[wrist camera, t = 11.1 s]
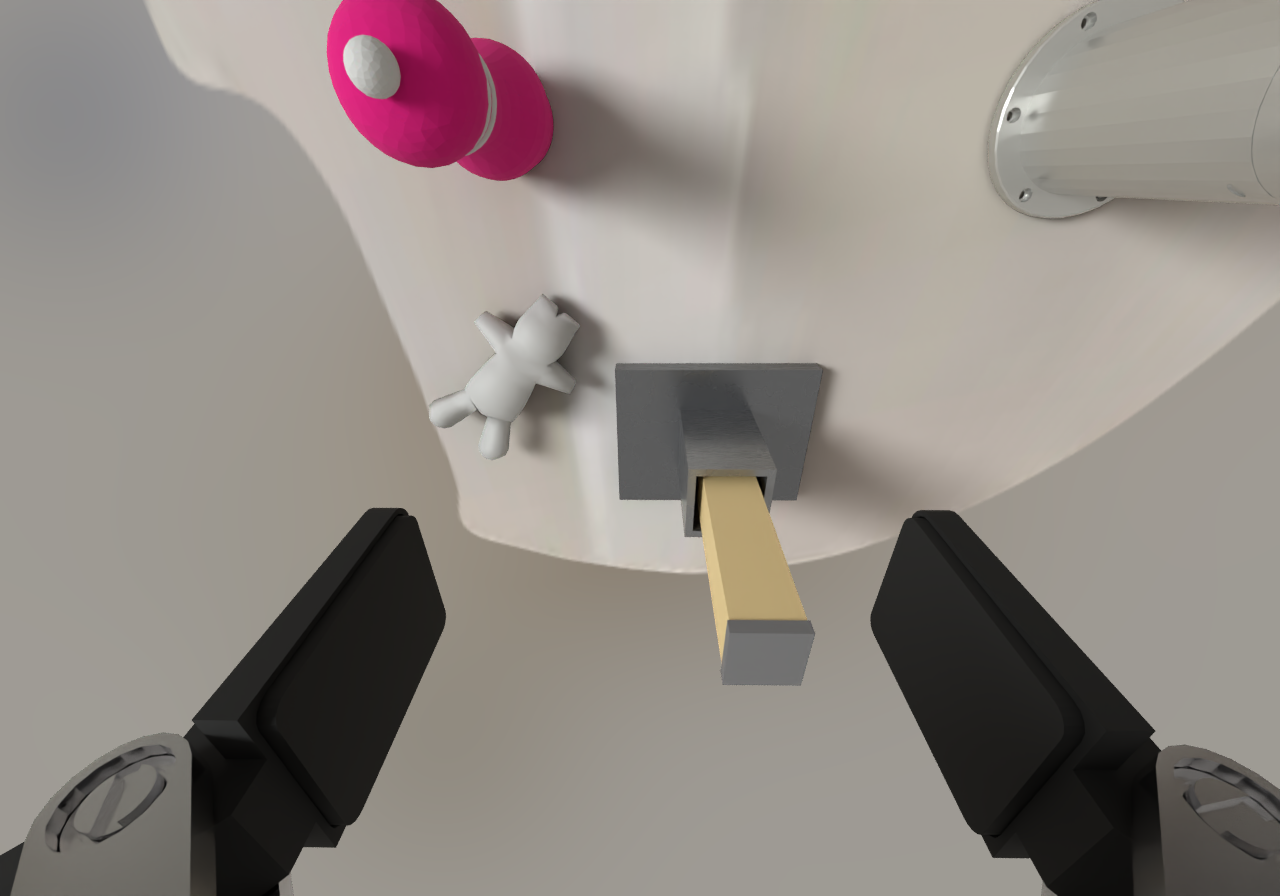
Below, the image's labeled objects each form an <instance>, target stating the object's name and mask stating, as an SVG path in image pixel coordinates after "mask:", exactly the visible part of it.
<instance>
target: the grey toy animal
mask: <svg viewBox="0 0 1280 896" xmlns="http://www.w3.org/2000/svg"><path fill="white" fill-rule="evenodd" d="M557 312H558V306H557V305H555V304H554V303H553V302H552V301H551V300H549V299H548V298H547V297H546V296H544V295H543V294H542V295H541V296H540V297H539V298H538V299H537V301H536V302H535V303H534V304H533V305H532V306H531V307H530V308H529V309H528V310H527V311H526V312H525V313H524V314H523V315H522V316H521V318H520V319H519V320H518V322H517V324H516V326H515V328H514V327H512V326H510V325H509V324H507V323H505V322H504V321H502V320H500V319H499V318H497V317H495V316H494V315H492V314H490V313H489V312H487V311H486V312H484V313H483V314H481V315H480V316H479V317H478V318H477V319H476V321H475V322H474V323H475V324H476V326H477V327H478V329H479V330H480V331H481V333H482V334H483V335H484V337H485V338H486V340H487V341H488V342H489V344H490V345H491V347H492V348H493V349H494V351H495V352H496V353H495V354H494V355H492V356H491V357H490V358H489V360H488V361H487V362H486V363H485V364H484V365H483V366H482V367H481V368H480V369H479V370H478V372H477V373H476V374H475V375H474V376H473V377H472V378H471V379H470V381H469V382H468V384H467V386H466V387H465V389H463V390H461V391H458V392H455V393H452V394H450V395H447V396H444V397H442V398H439V399H436V400H434V401H433V402H432V403H431V404H430V405H429V417H430V420H431V422H432V423H433V424H434V425H435V426H437V427H441V428H448V427H452V426H453V425H455V424H456V423H458V422H459V421H461V420H462V419H464V418H465V417H467V416H468V415H470V414H471V413H473V412H474V411H476V410H478V411H479V412H480V413H481V414H482V415H484V416H486V417H487V420H486V423H485V426H484V429H483V432H482V436H481V439H480V442H479V451H480V453H481V455H482V456H483V457H484V458H486V459H489V460H494V459H497V458H500V457H503V456H505V455H506V453H507V451H508V449H509V437H510V425H511V422H513V421H514V420H515V419H516V418H517V417H518V415H519V414H520V413H521V411H522V410H523V408H524V407H525V405H526V403H527V401H528V399H529V397H530V395H531V393H532V391H533V389H534V387H535V384H540V385H543V386H546V387H549V388H552V389H555V390H558V391H561V392H564V393H567V394H570V393H571V391H572V390H573V388H574V387H575V382H576V380H575V379H574V378H573V377H572V376H571V375H570V374H569V373H568V372H567V371H566V370H565V369H564V368H563V367H562V366H561V365H560V364H559V363H558V362H557V361H556V360H557V359H558V358H559V357H561V356H562V355H563V354H564V352H565V350H566V348H567V347H568V345H569V343H570V341H571V340H572V338H573V336H574V334H575V333H576V331H577V330H578V329H579V326H580V324H579V323H577V322H576V321H575V320H574V319H572V318H571V317H570V316H569V315H568V314H566V313H565V312H564V313H561V314H559V315H557Z"/></svg>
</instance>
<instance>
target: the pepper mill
mask: <svg viewBox="0 0 1280 896" xmlns="http://www.w3.org/2000/svg"><path fill="white" fill-rule="evenodd" d="M327 58H328V66H329V73H330V76H331V80H332V83H333V87H334V89H335V91H336V94H337V96H338V99H339V101H340V103H341V105H342V107H343V108H344V110H345V112H346V114H347V116H348V117H349V119H350V120H351V122H352V123H353V124H354V126H355V127H356V128H357V129H358V131H359V132H360V133H361V134H362V135H363V136H364V137H365V138H366V139H367V140H368V141H369V142H370V143H372V144H373V145H374V146H375V147H376V148H378V149H379V150H381V151H382V152H383V153H385V154H386V155H388V156H390V157H392V158H394V159H396V160H398V161H401V162H404V163H407V164H410V165H413V166H417V167H427V168H435V167H441V166H446V165H450V164H452V163H454V162H456V161H457V162H458V163H459V164H460V165H461V166H462V167H464V168H465V169H467V170H468V171H470V172H471V173H473V174H476V175H478V176H480V177H484V178H487V179H491V180H497V181H506V180H511V179H515V178H518V177H520V176H522V175H524V174H526V173H527V172H528V171H530V170H531V169H532V168H533V167H534V166H536V165H537V164H538V163H539V162H540V161H541V160H542V159H543V158H544V156H545V155H546V153H547V151H548V149H549V147H550V144H551V141H552V136H553V115H552V110H551V106H550V104H549V101H548V98H547V96H546V93H545V90H544V88H543V85H542V83H541V81H540V79H539V77H538V76H537V74H536V73H535V71H534V70H533V68H532V67H531V66H530V64H529V63H528V62H527V61H526V60H525V59H524V58H523V57H522V56H521V55H520V54H518V53H517V52H516V51H514V50H513V49H511V48H509V47H508V46H506V45H504V44H502V43H499V42H496V41H494V40H491V39H484V38H471V39H470V37H469V35H468V34H467V32H466V31H465V29H464V27H463V26H462V25H461V24H460V23H459V21H458V20H457V19H456V18H455V17H454V16H453V15H452V14H451V13H450V12H449V11H448V10H447V9H446V8H445V7H444V6H443V5H442V4H441V3H439V2H438V1H436V0H343V1H342V2H341V4H340V5H339V7H338V9H337V10H336V12H335V14H334V16H333V18H332V22H331V25H330V28H329V32H328V39H327Z"/></svg>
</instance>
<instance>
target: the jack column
mask: <svg viewBox="0 0 1280 896" xmlns="http://www.w3.org/2000/svg"><path fill="white" fill-rule="evenodd" d="M697 504H698V511H699V517H700V524H701V531H702V537H703V544H704V550H705V557H706V564H707V570H708V576H709V583H710V590H711V596H712V603H713V610H714V617H715V623H716V629H717V636H718V643H719V650H720V656H721V662H722V664H721V677H722V684H723V685H801V683H802V679H803V676H804V672H805V669H806V665H807V661H808V658H809V654H810V651H811V647H812V643H813V640H814V636H815V632H814V630H813V627H812V624H811V621H807V618H806V615H805V612H804V609H803V607H802V604H801V601H800V598H799V595H798V593H797V590H796V587H795V584H794V582H793V579H792V576H791V573H790V570H789V568H788V565H787V562H786V559H785V556H784V554H783V551H782V548H781V545H780V542H779V540H778V537H777V534H776V531H775V528H774V526H773V523H772V520H771V517H770V515H769V512H768V509H767V506H766V503H765V501H764V498H763V495H762V492H761V489H760V487H759V484H758V481H757V478H756V476H698V483H697Z"/></svg>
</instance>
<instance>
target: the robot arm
mask: <svg viewBox="0 0 1280 896" xmlns="http://www.w3.org/2000/svg"><path fill="white" fill-rule="evenodd" d="M1007 115H1008V118H1007ZM988 166H989V172H990V177H991V180H992V182H993V185H994V187H995V189H996V191H997V193H998V194H999V195H1000V197H1001V198H1002V199H1003V200H1004V202H1005V203H1006V204H1008V205H1009V206H1011V207H1012V208H1013V209H1015V210H1016V211H1018V212H1021V213H1024V214H1026V215H1029V216H1035V217H1042V218H1065V217H1070V216H1075V215H1080V214H1082V213H1085V212H1088V211H1090V210H1093V209H1096V208H1098V207H1100V206H1102V205H1104V204H1106V203H1107V202H1109V201H1111V200H1113V199H1115V198H1116V197H1119V198H1140V199H1160V200H1181V201H1202V202H1223V203H1243V204H1264V205H1280V0H1188V1H1184V0H1098V1H1096V2H1093V3H1091V4H1089V5H1087V6H1085V7H1082V8H1081V9H1079V10H1078V11H1076V12H1075V13H1073V14H1072V15H1070V16H1069V17H1067V18H1066V19H1064V20H1063V21H1061V22H1060V23H1059V24H1058V25H1056V26H1055V27H1054V28H1053V29H1052V30H1051V31H1050V32H1048V33H1047V34H1046V35H1045V36H1044V37H1043V38H1042V39H1041V40H1040V41H1039V42H1038V43H1037V44H1036V45H1035V47H1034V48H1033V49H1032V50H1031V51H1030V52H1029V53H1028V55H1027V56H1026V57H1025V58H1024V59H1023V61H1022V62H1021V64H1020V65H1019V67H1018V68H1017V70H1016V71H1015V73H1014V74H1013V76H1012V77H1011V79H1010V80H1009V82H1008V84H1007V86H1006V88H1005V90H1004V92H1003V94H1002V96H1001V98H1000V100H999V103H998V106H997V108H996V111H995V114H994V117H993V120H992V123H991V129H990V134H989V139H988ZM445 620H446V613H445V608H444V605H443V602H442V599H441V596H440V592H439V589H438V586H437V582H436V579H435V576H434V573H433V570H432V567H431V564H430V560H429V557H428V554H427V551H426V548H425V545H424V541H423V538H422V535H421V532H420V529H419V525H418V522H417V520H416V518H415V517H414V516H409V515H408V513H407V511H406V510H405V509H402V508H372V509H369V510H368V511H367V512H365V513H364V515H363V516H362V517H361V518H360V520H359V521H358V522H357V523H356V524H355V525H354V527H353V528H352V529H351V530H350V531H349V532H348V534H347V535H346V536H345V537H344V538H343V540H342V541H341V542H340V543H339V545H338V546H337V547H336V548H335V549H334V550H333V552H332V553H331V554H330V555H329V556H328V558H327V559H326V560H325V561H324V562H323V564H322V565H321V566H320V567H319V568H318V570H317V571H316V572H315V573H314V574H313V576H312V577H311V578H310V579H309V580H308V582H307V583H306V584H305V585H304V586H303V588H302V589H301V590H300V591H299V592H298V593H297V595H296V596H295V597H294V598H293V599H292V601H291V602H290V603H289V604H288V605H287V607H286V608H285V609H284V610H283V612H282V613H281V614H280V615H279V616H278V617H277V619H276V620H275V621H274V622H273V624H272V625H271V626H270V627H269V628H268V630H267V631H266V632H265V633H264V634H263V635H262V637H261V638H260V639H259V640H258V641H257V643H256V644H255V645H254V646H253V647H252V648H251V650H250V651H249V652H248V653H247V654H246V656H245V657H244V658H243V659H242V660H241V662H240V663H239V664H238V665H237V666H236V668H235V669H234V670H233V671H232V672H231V674H230V675H229V676H228V677H227V679H226V680H225V681H224V682H223V683H222V684H221V686H220V687H219V688H218V689H217V691H216V692H215V693H214V694H213V695H212V696H211V698H210V699H209V700H208V701H207V702H206V703H205V705H204V706H203V707H202V708H201V710H200V711H199V712H198V713H197V714H196V715H195V717H194V718H193V719H192V721H193V722H194V723H195V724H194V725H193V726H192V728H191V729H190V730H189V731H188V733H187V734H186V735H185V736H184V737H182V736H180V735H179V734H171V733H159V734H153V735H148V736H143V737H141V738H138V739H136V740H133V741H131V742H128V743H126V744H123V745H121V746H119V747H117V748H116V749H114V750H112V751H110V752H108V753H107V754H105V755H103V756H101V757H100V758H98V759H97V760H95V761H94V762H92V763H91V764H90V765H88V766H87V767H86V768H84V769H83V770H82V771H80V772H79V773H78V774H76V775H75V776H74V777H72V778H71V779H70V780H69V781H68V782H67V783H66V784H65V785H64V786H63V787H62V788H61V789H60V790H59V791H58V792H57V793H56V794H55V795H54V796H53V797H52V798H51V799H50V800H49V801H48V803H47V804H46V805H45V807H44V808H43V809H42V811H41V812H40V813H39V814H38V816H37V817H36V819H35V820H34V822H33V824H32V826H31V828H30V831H29V833H28V835H27V837H26V839H25V842H23V843H21V844H20V845H18V846H16V847H14V848H13V849H11V850H9V851H7V852H6V853H4V854H2V855H0V896H294V894H293V887H292V880H291V870H292V868H293V866H294V864H295V862H296V860H297V858H298V856H299V854H300V852H301V850H302V848H303V847H334V848H335V847H336V846H337V844H338V842H339V840H340V838H341V836H342V833H343V831H344V829H345V827H346V825H351V824H352V823H354V822H355V821H356V819H357V818H358V817H359V815H360V813H361V811H362V809H363V807H364V805H365V803H366V801H367V798H368V796H369V794H370V792H371V789H372V787H373V785H374V783H375V781H376V778H377V776H378V774H379V771H380V769H381V767H382V765H383V763H384V760H385V758H386V756H387V754H388V752H389V749H390V747H391V745H392V743H393V740H394V738H395V736H396V734H397V732H398V729H399V727H400V725H401V723H402V720H403V718H404V716H405V714H406V712H407V709H408V707H409V705H410V703H411V700H412V698H413V696H414V694H415V692H416V689H417V687H418V685H419V683H420V680H421V678H422V676H423V673H424V671H425V669H426V667H427V665H428V663H429V660H430V658H431V656H432V654H433V651H434V649H435V647H436V645H437V642H438V640H439V638H440V636H441V634H442V631H443V629H444V626H445ZM871 627H872V631H873V634H874V636H875V638H876V640H877V642H878V644H879V646H880V648H881V650H882V652H883V654H884V656H885V658H886V660H887V662H888V664H889V666H890V668H891V670H892V672H893V674H894V676H895V679H896V681H897V682H898V685H899V687H900V689H901V690H902V692H903V695H904V697H905V699H906V701H907V703H908V705H909V707H910V709H911V711H912V713H913V715H914V717H915V719H916V721H917V723H918V725H919V727H920V729H921V731H922V733H923V735H924V737H925V740H926V741H927V744H928V745H929V748H930V750H931V752H932V754H933V756H934V758H935V760H936V762H937V763H938V766H939V768H940V770H941V772H942V774H943V776H944V778H945V780H946V782H947V784H948V786H949V788H950V790H951V792H952V794H953V796H954V798H955V800H956V802H957V805H958V806H959V809H960V811H961V813H962V815H963V817H964V818H965V820H966V822H967V824H968V825H969V826H970V828H971V829H972V830H973V831H974V832H975V833H977V834H980V835H982V837H983V839H984V841H985V843H986V845H987V847H988V849H989V851H990V853H991V855H992V857H993V858H1031V860H1032V862H1033V864H1034V866H1035V867H1036V869H1037V871H1038V873H1039V875H1040V876H1041V878H1042V880H1043V883H1042V894H1041V896H1280V789H1278V788H1277V787H1275V786H1274V785H1273V784H1271V783H1270V782H1269V781H1267V780H1266V779H1264V778H1263V777H1262V776H1260V775H1259V774H1257V773H1255V772H1254V771H1251V770H1250V769H1248V768H1246V767H1245V766H1243V765H1241V764H1239V763H1237V762H1236V761H1234V760H1232V759H1230V758H1227V757H1225V756H1222V755H1219V754H1217V753H1215V752H1212V751H1210V750H1207V749H1203V748H1198V747H1194V746H1189V745H1176V746H1168V747H1166V748H1165V749H1164V750H1162V751H1161V750H1160V749H1159V748H1158V747H1157V746H1156V745H1155V743H1154V742H1153V741H1152V740H1151V739H1150V738H1149V737H1150V736H1151V735H1152V734H1153V733H1154V732H1155V730H1154V729H1153V728H1152V727H1151V726H1150V724H1149V723H1148V722H1147V721H1146V720H1145V719H1144V718H1143V717H1142V716H1141V715H1140V713H1139V712H1137V710H1136V709H1135V708H1134V707H1133V706H1132V705H1131V704H1130V703H1129V702H1128V700H1127V699H1126V698H1125V697H1124V696H1123V695H1122V694H1121V693H1120V692H1119V691H1118V689H1117V688H1116V687H1115V686H1114V685H1113V684H1112V683H1111V682H1110V681H1109V680H1108V679H1107V677H1106V676H1105V675H1104V674H1103V673H1102V672H1101V671H1100V670H1099V669H1098V667H1097V666H1096V665H1095V664H1094V663H1093V662H1092V661H1091V660H1090V659H1089V658H1088V657H1087V656H1086V654H1085V653H1084V652H1083V651H1082V650H1081V649H1080V648H1079V647H1078V646H1077V644H1076V643H1075V642H1074V641H1073V640H1072V639H1071V638H1070V637H1069V636H1068V635H1067V634H1066V633H1065V631H1064V630H1063V629H1062V628H1061V627H1060V626H1059V625H1058V624H1057V623H1056V622H1055V620H1054V619H1053V618H1052V617H1051V616H1050V615H1049V614H1048V613H1047V612H1046V611H1045V609H1044V608H1043V607H1042V606H1041V605H1040V604H1039V603H1038V602H1037V601H1036V600H1035V598H1034V597H1033V596H1032V595H1031V594H1030V593H1029V592H1028V591H1027V590H1026V589H1025V588H1024V586H1023V585H1022V584H1021V583H1020V582H1019V581H1018V580H1017V579H1016V578H1015V577H1014V575H1013V574H1012V573H1011V572H1010V571H1009V570H1008V569H1007V568H1006V567H1005V566H1004V565H1003V564H1002V562H1001V561H1000V560H999V559H998V558H997V557H996V556H995V555H994V554H993V553H992V551H991V550H990V549H989V548H988V547H987V546H986V545H985V544H984V543H983V541H982V540H981V539H980V538H979V537H978V536H977V535H976V534H975V533H974V532H973V531H972V529H971V528H970V527H969V526H968V525H967V524H966V523H965V522H964V521H963V520H962V518H961V517H960V516H959V515H958V514H956V513H955V512H953V511H950V510H920V511H917V512H916V513H914V515H913V517H912V518H908V519H906V520H905V522H904V524H903V526H902V529H901V532H900V534H899V537H898V540H897V543H896V546H895V548H894V551H893V554H892V557H891V559H890V562H889V565H888V568H887V571H886V574H885V576H884V579H883V582H882V585H881V587H880V590H879V593H878V596H877V599H876V601H875V604H874V607H873V610H872V613H871Z"/></svg>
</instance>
